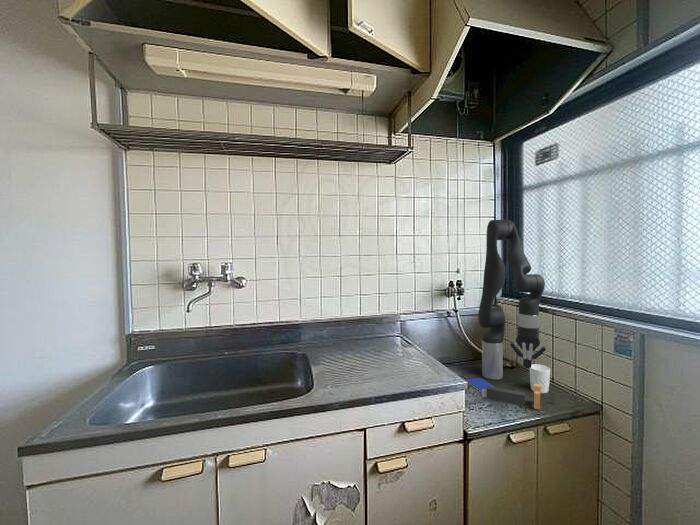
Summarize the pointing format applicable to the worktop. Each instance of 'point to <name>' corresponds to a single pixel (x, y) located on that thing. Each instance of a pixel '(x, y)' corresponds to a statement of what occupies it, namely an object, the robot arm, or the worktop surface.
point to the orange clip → (537, 396)
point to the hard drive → (479, 384)
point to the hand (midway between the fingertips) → (527, 367)
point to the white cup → (540, 377)
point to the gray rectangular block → (504, 395)
